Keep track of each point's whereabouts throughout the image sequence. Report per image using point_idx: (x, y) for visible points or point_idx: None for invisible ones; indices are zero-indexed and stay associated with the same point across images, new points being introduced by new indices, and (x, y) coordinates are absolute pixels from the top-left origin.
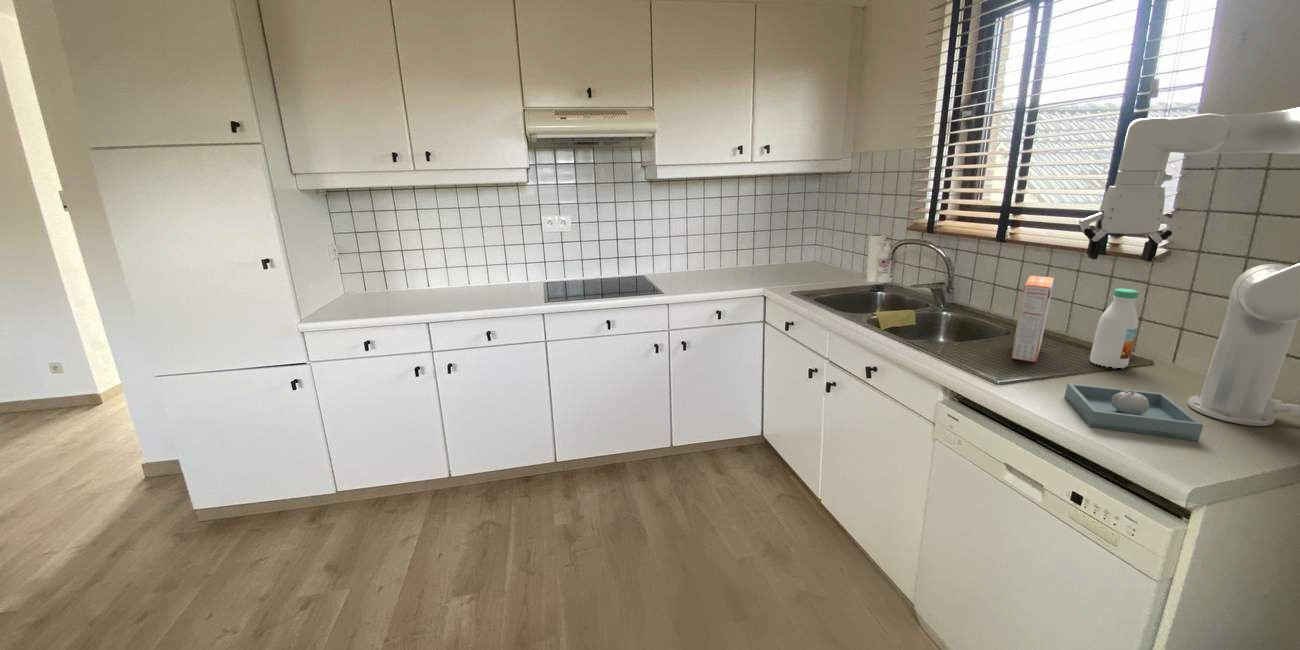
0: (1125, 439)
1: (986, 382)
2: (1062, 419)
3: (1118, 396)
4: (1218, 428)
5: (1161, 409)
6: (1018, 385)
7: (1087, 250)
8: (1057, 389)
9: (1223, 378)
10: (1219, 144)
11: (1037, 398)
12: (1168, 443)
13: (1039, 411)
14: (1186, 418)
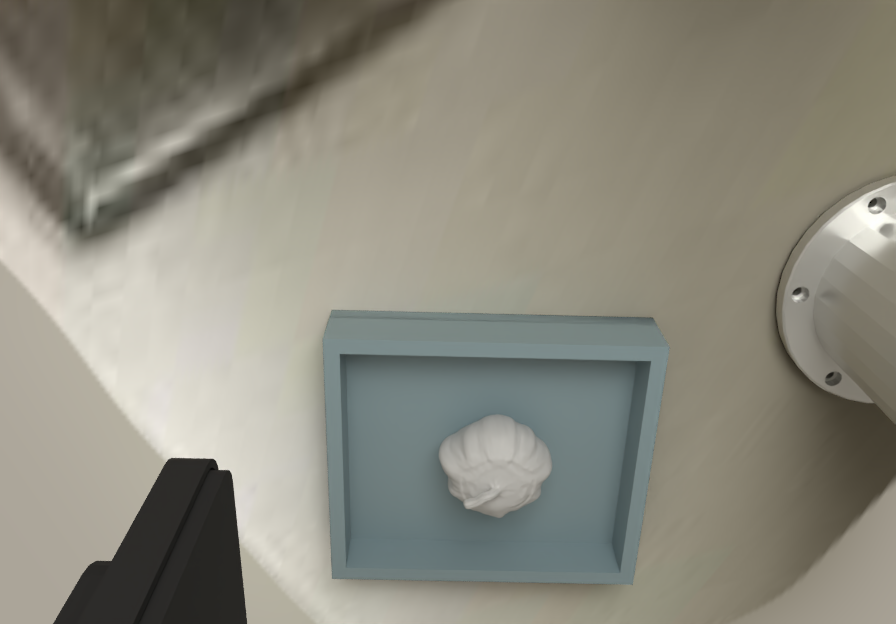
0: (414, 584)
1: (40, 228)
2: (272, 505)
3: (451, 478)
4: (751, 435)
5: (631, 377)
6: (173, 223)
7: (74, 601)
8: (330, 223)
9: (888, 412)
10: None
11: (226, 349)
12: None
13: None
14: (623, 525)
